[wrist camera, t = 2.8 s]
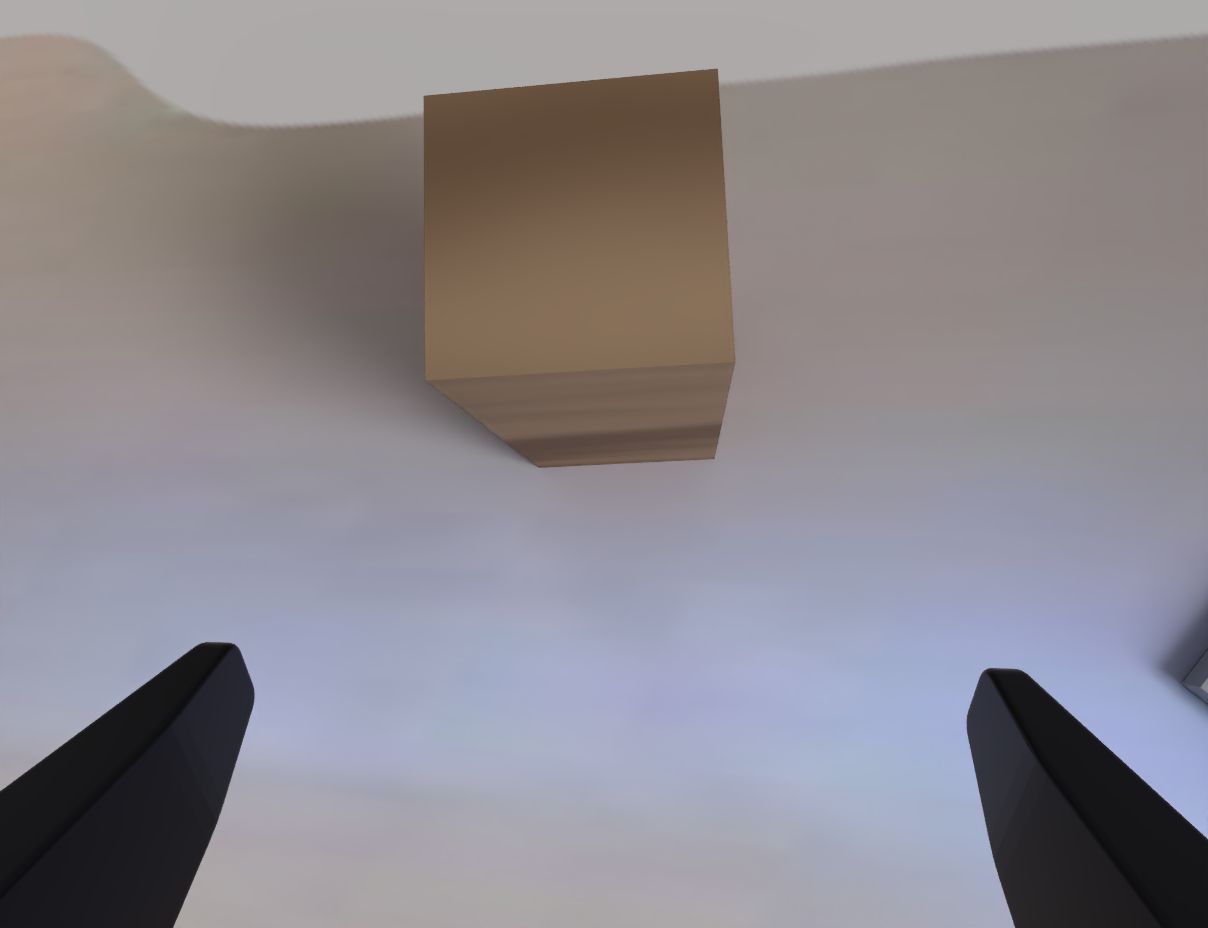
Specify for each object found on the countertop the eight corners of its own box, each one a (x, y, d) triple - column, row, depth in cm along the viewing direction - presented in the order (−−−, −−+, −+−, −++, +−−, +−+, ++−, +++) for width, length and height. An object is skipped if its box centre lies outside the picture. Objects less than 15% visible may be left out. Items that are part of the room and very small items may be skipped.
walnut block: (714, 459, 23) (735, 361, 13) (538, 467, 24) (425, 380, 14) (705, 288, 24) (717, 68, 14) (534, 300, 25) (423, 96, 14)
